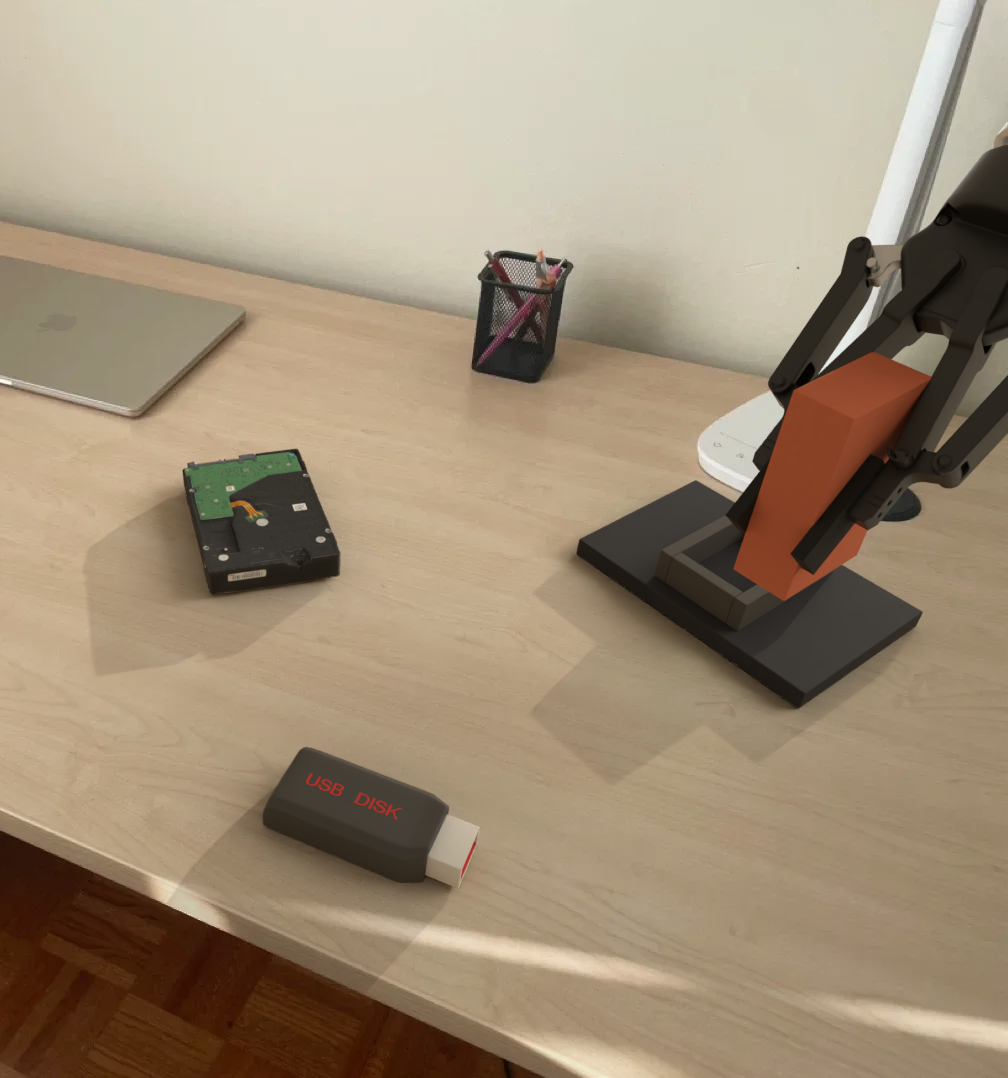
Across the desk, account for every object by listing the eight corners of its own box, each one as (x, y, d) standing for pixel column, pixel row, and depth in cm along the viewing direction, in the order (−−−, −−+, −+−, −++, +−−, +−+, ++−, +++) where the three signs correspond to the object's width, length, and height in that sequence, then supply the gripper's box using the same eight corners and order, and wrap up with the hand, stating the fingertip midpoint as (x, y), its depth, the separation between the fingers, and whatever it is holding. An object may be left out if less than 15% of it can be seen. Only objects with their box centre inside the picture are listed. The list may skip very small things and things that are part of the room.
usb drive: (300, 764, 67) (300, 735, 65) (481, 834, 63) (486, 805, 61) (262, 825, 63) (261, 796, 62) (451, 905, 59) (456, 876, 57)
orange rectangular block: (857, 555, 62) (933, 377, 55) (783, 601, 59) (854, 419, 52) (806, 526, 64) (873, 351, 57) (732, 569, 61) (793, 389, 54)
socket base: (916, 626, 77) (936, 585, 74) (798, 709, 70) (816, 667, 68) (691, 493, 90) (703, 454, 87) (575, 553, 83) (584, 513, 81)
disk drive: (343, 580, 81) (298, 471, 92) (344, 552, 79) (298, 444, 91) (210, 601, 79) (180, 487, 91) (208, 573, 78) (178, 460, 89)
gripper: (1231, 272, 52) (921, 646, 56) (915, 175, 63) (670, 494, 66) (1245, 190, 47) (899, 611, 50) (896, 99, 57) (629, 451, 61)
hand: (769, 544), depth 58 cm, fingers closed on orange rectangular block, 3 cm apart
